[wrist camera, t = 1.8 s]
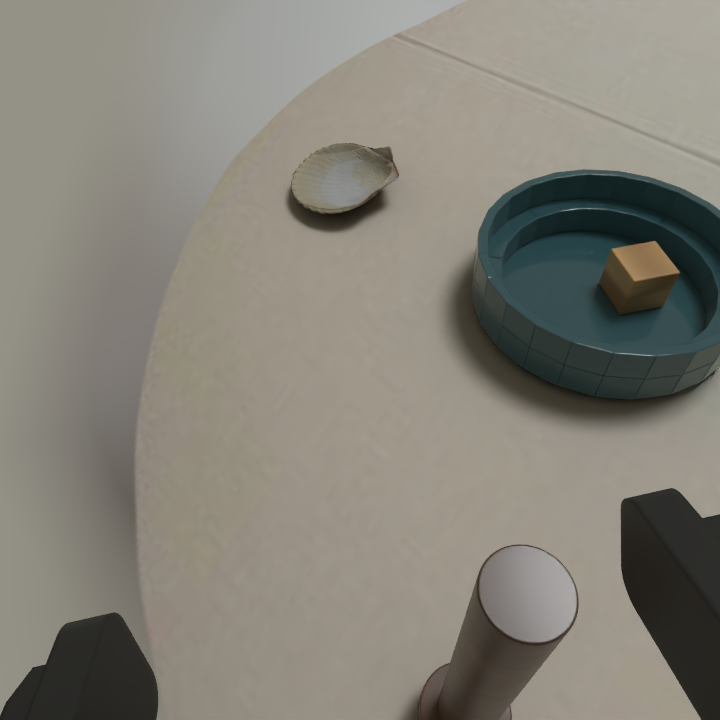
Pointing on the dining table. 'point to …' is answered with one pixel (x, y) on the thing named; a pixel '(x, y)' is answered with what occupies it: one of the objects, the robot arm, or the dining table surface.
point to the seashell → (342, 177)
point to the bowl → (581, 283)
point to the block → (638, 277)
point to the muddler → (503, 635)
